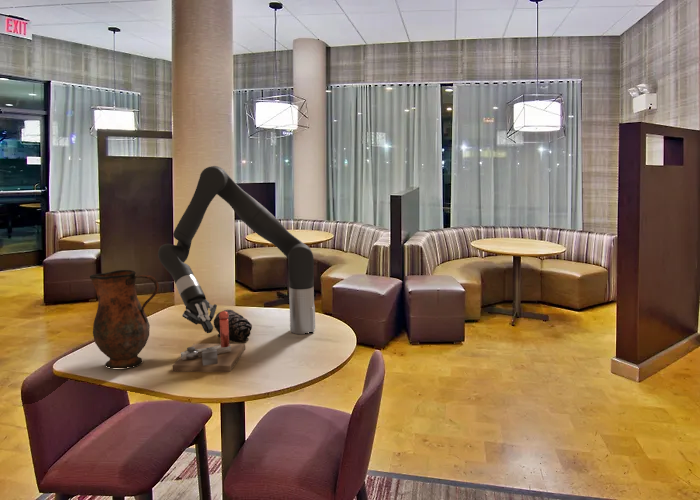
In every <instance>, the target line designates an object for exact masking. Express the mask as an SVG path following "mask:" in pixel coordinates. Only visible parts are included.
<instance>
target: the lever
mask: <svg viewBox="0 0 700 500" xmlns="http://www.w3.org/2000/svg"><path fill="white" fill-rule="evenodd" d="M219 312H220V313H219ZM219 312H218V313H219V319H220V337H219V339H220V344H221V345H220V346H214V347H208V348H202V349H197V350H196V349H195V351H193V352H188V351H187V350H185V351H181V352H180V357H181V358H182V360H186V359H188V360H191V359H196V358H198V357H202V350H208V349H216V350H217V354H219V353H224V352H230V351H231V346H230V344H231V343H230V341H229V323H228V317H229V314H228V312H226V311H224V310H222V311H219Z"/></svg>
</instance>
